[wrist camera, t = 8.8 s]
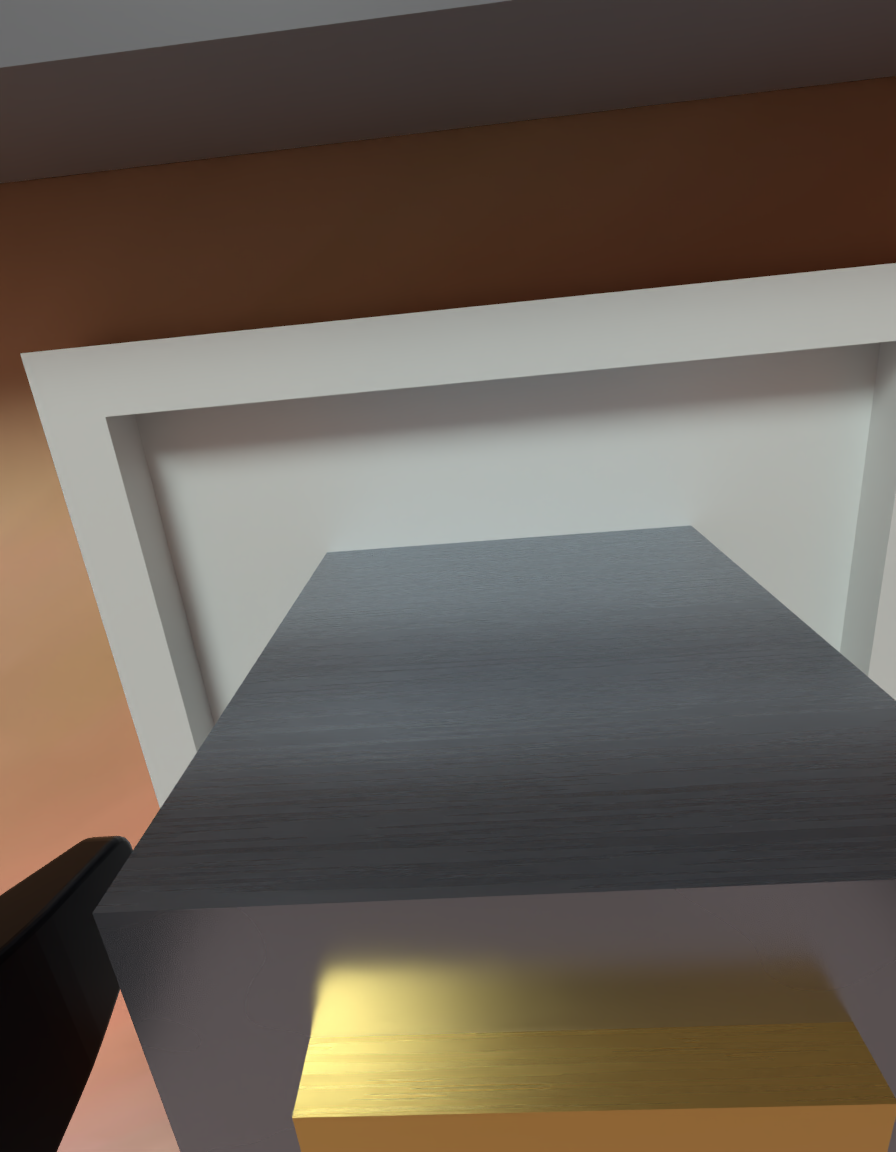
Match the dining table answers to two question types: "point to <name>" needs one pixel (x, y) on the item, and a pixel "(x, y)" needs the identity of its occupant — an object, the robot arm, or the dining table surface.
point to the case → (386, 68)
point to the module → (526, 868)
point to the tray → (474, 460)
